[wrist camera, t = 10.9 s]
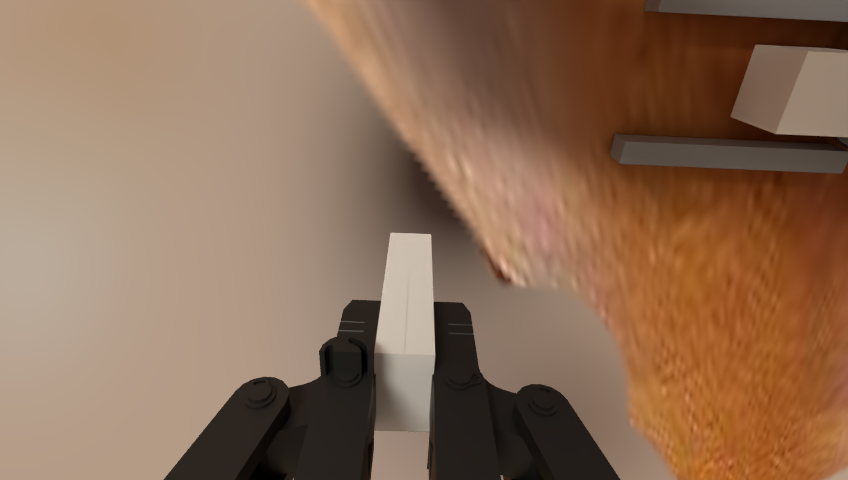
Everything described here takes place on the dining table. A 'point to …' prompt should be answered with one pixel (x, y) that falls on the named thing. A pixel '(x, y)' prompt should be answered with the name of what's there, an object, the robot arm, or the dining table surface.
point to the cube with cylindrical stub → (795, 91)
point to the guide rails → (806, 3)
